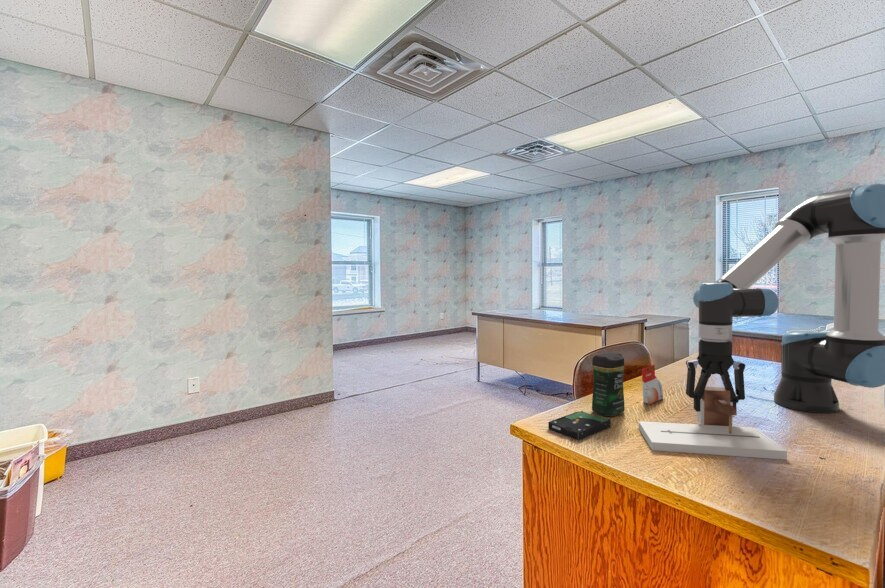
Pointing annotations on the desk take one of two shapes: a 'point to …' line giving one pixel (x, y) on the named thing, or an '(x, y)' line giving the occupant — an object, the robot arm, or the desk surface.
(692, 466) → the desk surface
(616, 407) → the coffee jar
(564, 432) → the disk drive
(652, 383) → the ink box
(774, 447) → the grey board
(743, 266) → the robot arm
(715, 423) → the marking gauge
